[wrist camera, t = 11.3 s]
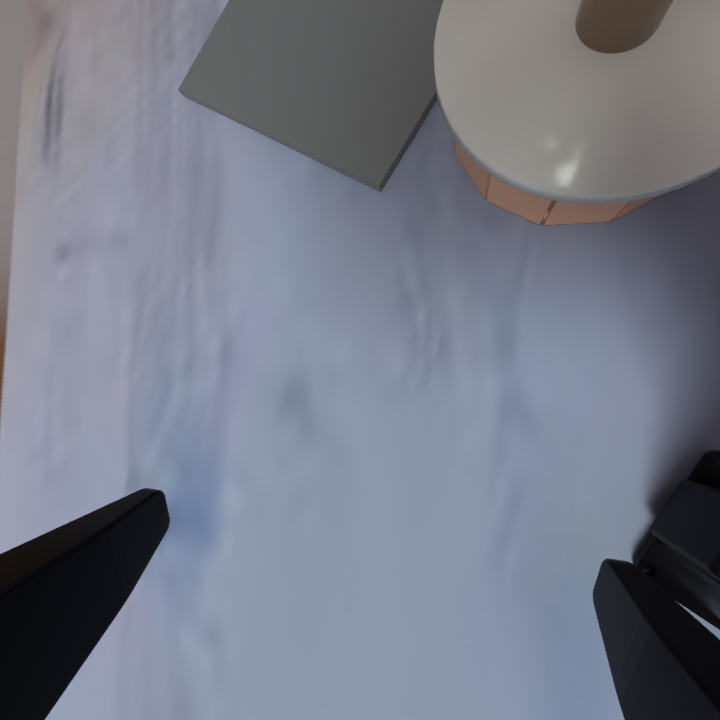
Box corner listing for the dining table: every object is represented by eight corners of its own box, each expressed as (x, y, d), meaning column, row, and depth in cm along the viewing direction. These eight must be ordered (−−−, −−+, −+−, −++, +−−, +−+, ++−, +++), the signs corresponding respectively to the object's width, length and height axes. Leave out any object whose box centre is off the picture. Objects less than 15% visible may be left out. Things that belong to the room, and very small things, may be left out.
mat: (532, -60, 21) (535, -73, 20) (380, 191, 21) (378, 185, 21) (306, -117, 25) (303, -129, 24) (184, 96, 25) (178, 89, 25)
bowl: (768, 44, 18) (858, -56, 14) (626, 264, 18) (675, 228, 14) (529, -23, 21) (548, -120, 17) (414, 167, 21) (406, 116, 17)
